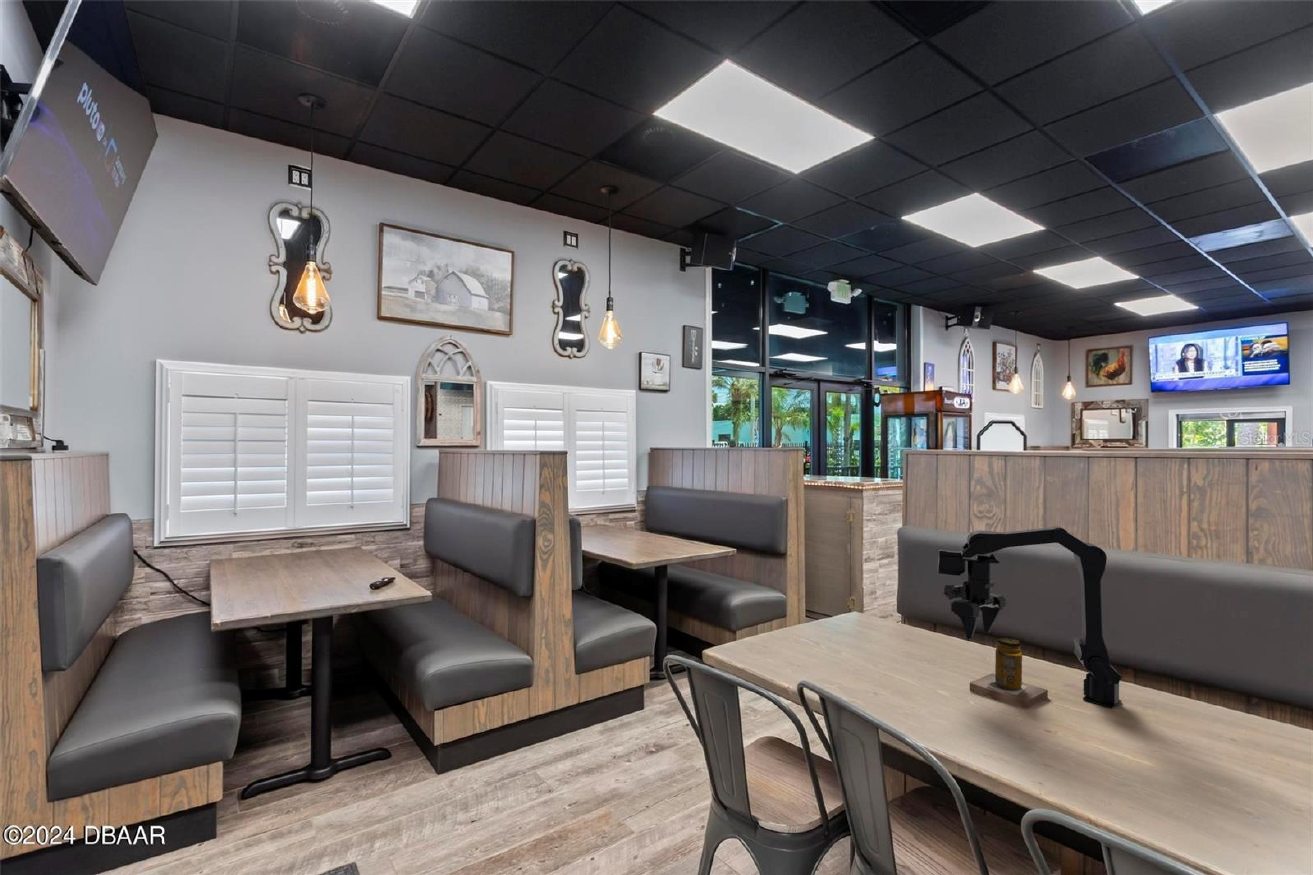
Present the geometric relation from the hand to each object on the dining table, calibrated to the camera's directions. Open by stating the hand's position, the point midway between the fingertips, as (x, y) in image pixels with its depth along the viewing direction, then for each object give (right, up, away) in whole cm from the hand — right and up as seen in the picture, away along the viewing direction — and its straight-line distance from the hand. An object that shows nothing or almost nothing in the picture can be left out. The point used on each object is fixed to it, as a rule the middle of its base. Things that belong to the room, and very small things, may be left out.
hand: (978, 635), depth 168 cm
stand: (+5, -13, -6) cm, 15 cm away
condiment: (+4, -11, -7) cm, 14 cm away
